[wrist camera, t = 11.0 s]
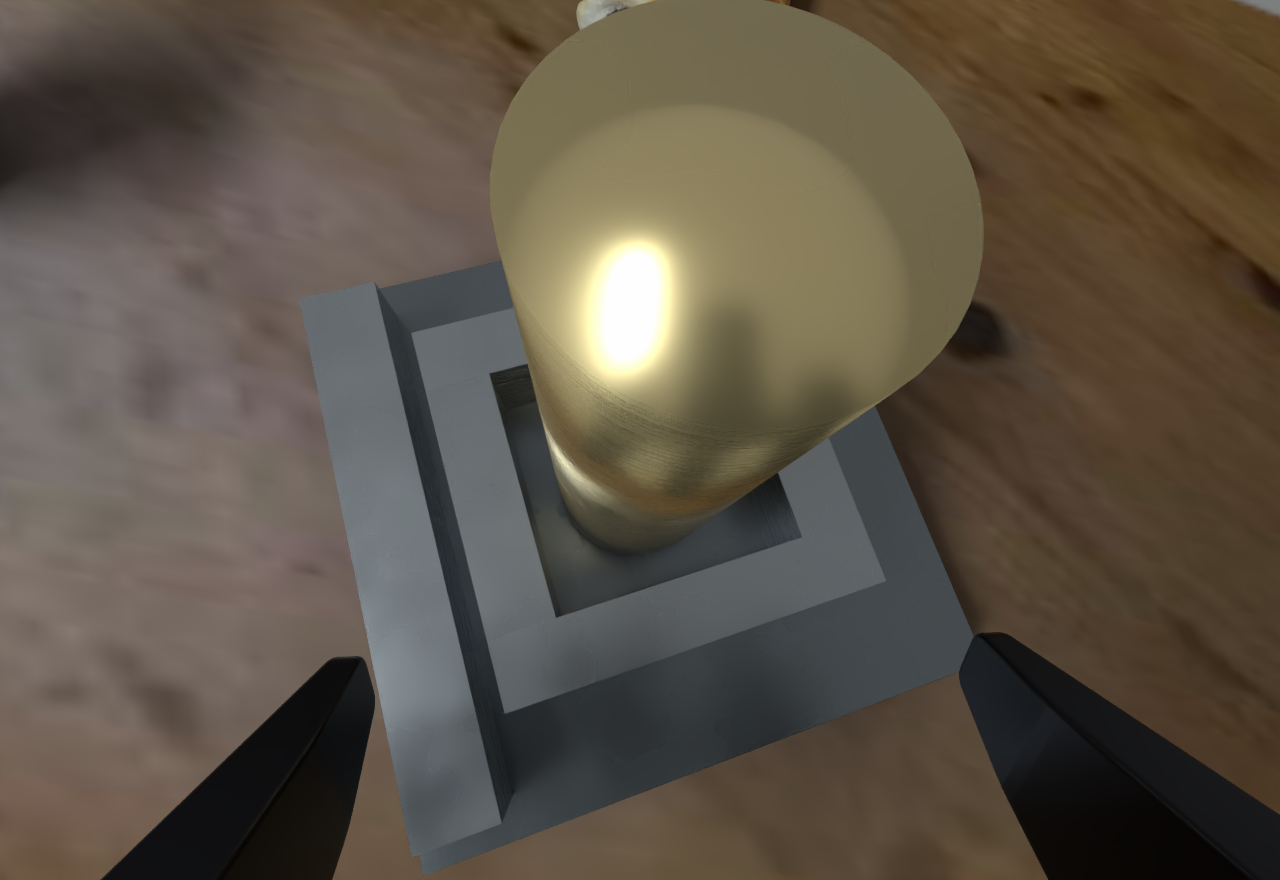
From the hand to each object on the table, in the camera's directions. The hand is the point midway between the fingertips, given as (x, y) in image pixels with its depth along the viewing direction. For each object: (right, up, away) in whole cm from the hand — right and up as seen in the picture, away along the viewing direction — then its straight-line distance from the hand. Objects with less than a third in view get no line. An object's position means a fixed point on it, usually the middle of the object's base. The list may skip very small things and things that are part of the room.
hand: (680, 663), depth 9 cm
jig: (-1, +2, +10) cm, 11 cm away
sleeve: (-1, +2, +9) cm, 9 cm away
